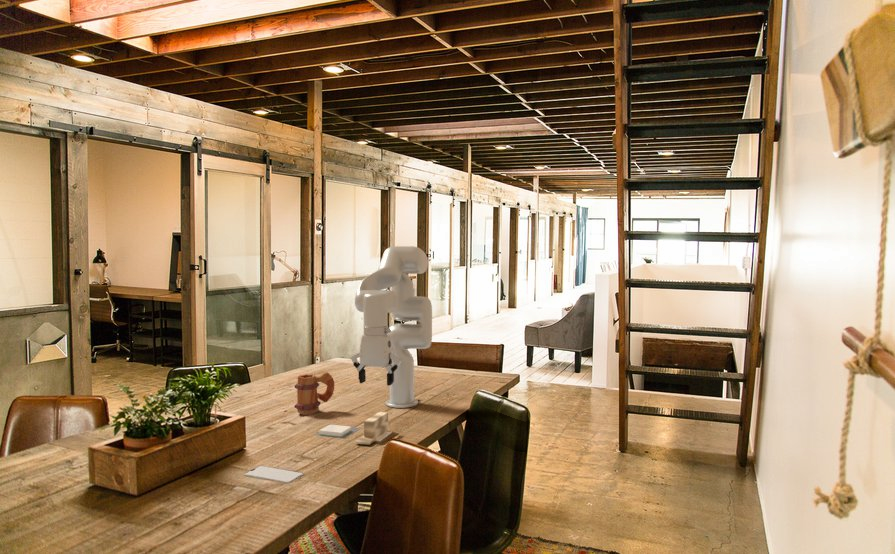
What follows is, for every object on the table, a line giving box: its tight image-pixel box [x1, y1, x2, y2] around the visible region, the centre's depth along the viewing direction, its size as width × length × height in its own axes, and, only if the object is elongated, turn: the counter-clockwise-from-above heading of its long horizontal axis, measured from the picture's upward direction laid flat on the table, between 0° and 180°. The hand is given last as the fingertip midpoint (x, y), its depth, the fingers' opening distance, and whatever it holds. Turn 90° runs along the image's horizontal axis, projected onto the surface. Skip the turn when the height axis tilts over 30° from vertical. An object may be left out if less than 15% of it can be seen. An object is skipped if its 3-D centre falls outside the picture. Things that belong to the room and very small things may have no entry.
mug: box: [294, 371, 335, 416], centre depth 227 cm, size 15×8×15 cm, turn 105°
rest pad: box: [362, 430, 393, 443], centre depth 198 cm, size 10×7×1 cm
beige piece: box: [354, 411, 389, 445], centre depth 196 cm, size 16×5×6 cm, turn 162°
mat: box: [314, 426, 361, 439], centre depth 203 cm, size 12×11×1 cm
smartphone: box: [243, 465, 304, 484], centre depth 166 cm, size 7×1×15 cm
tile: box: [318, 424, 352, 438], centre depth 201 cm, size 2×8×7 cm
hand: (376, 383), depth 198 cm, fingers open, 9 cm apart
